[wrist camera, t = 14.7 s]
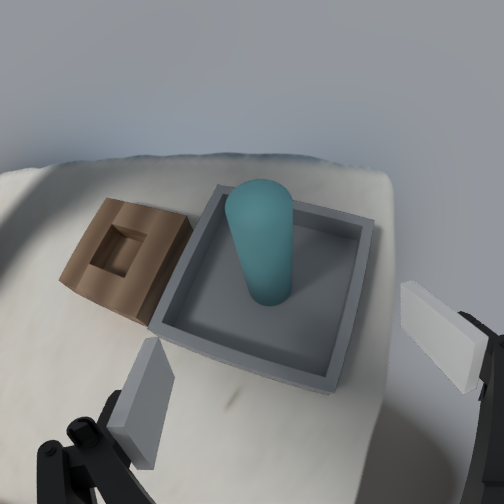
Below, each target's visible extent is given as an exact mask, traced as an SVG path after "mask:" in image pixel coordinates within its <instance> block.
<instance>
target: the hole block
mask: <svg viewBox="0 0 504 504" xmlns="http://www.w3.org/2000/svg"><path fill="white" fill-rule="evenodd" d="M192 233H193V229H192V227H191V225H190V222H189V220H188V218H187V216H185V215H181V214H177V213H172V212H168V211H164V210H159V209H155V208H151V207H146V206H142V205H138V204H133V203H129V202H124V201H120V200H115V199H111V198H106V199H105V201H104V203H103V204H102V206H101V207H100V209H99V210H98V212H97V213H96V215H95V217H94V218H93V220H92V222H91V223H90V225H89V226H88V228H87V230H86V231H85V233H84V235H83V236H82V238H81V240H80V242H79V243H78V245H77V247H76V249H75V250H74V252H73V254H72V256H71V258H70V259H69V261H68V263H67V265H66V267H65V269H64V271H63V272H62V274H61V276H60V278H59V281H60V282H61V283H63V284H64V285H65V286H67V287H68V288H70V289H71V290H72V291H74V292H75V293H77V294H79V295H81V296H83V297H85V298H87V299H89V300H91V301H93V302H95V303H97V304H99V305H101V306H103V307H105V308H107V309H109V310H111V311H113V312H115V313H117V314H120V315H122V316H124V317H126V318H128V319H130V320H133V321H135V322H137V323H139V324H142V325H144V326H146V327H148V326H149V324H150V321H151V319H152V317H153V315H154V312H155V310H156V308H157V306H158V304H159V302H160V299H161V297H162V295H163V293H164V291H165V289H166V286H167V284H168V282H169V280H170V278H171V276H172V274H173V272H174V270H175V268H176V266H177V263H178V261H179V259H180V257H181V255H182V253H183V251H184V249H185V247H186V245H187V243H188V241H189V239H190V237H191V235H192Z"/></svg>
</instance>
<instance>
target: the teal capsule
mask: <svg viewBox="0 0 504 504" xmlns="http://www.w3.org/2000/svg"><path fill="white" fill-rule="evenodd" d="M225 213H226V217H227V220H228V223H229V227H230V230H231V233H232V237H233V240H234V244H235V247H236V250H237V254H238V257H239V260H240V263H241V267H242V270H243V273H244V277H245V280H246V283H247V287H248V290H249V293H250V295H251V297H252V298H253V300H255V301H256V302H257V303H259V304H261V305H264V306H275V305H279V304H281V303H282V302H284V301H285V300H286V299H287V298H288V297H289V295H290V293H291V290H292V258H293V201H292V197H291V195H290V193H289V192H288V190H287V189H286V188H285V187H283V186H282V185H281V184H279V183H277V182H274V181H271V180H265V179H258V180H251V181H248V182H245V183H243V184H241V185H239V186H237V187H236V188H235V189H234V190H233V191H232V192H231V193H230V194H229V196H228V198H227V200H226V203H225Z"/></svg>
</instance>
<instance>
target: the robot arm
mask: <svg viewBox="0 0 504 504" xmlns="http://www.w3.org/2000/svg"><path fill="white" fill-rule="evenodd" d="M401 328H402V329H403V330H404V331H405V332H406V333H407V334H408V335H409V336H410V337H411V338H412V339H413V340H414V341H415V342H416V343H417V344H418V346H420V348H421V349H422V350H423V351H424V352H425V353H426V354H427V355H428V356H429V357H430V358H431V359H432V361H433V362H434V363H435V364H436V365H437V366H438V367H439V368H440V369H441V371H442V372H443V373H444V374H445V375H446V376H447V377H448V378H449V379H450V380H451V382H452V383H453V384H454V385H455V386H456V387H457V388H458V389H459V390H460V392H461V393H462V394H463V395H464V394H466V393H468V392H470V391H472V390H474V389H476V387H477V384H478V380H479V378H480V379H481V380H482V381H483V382H484V384H483V387H482V390H481V393H480V397H479V401H480V400H481V405H480V413H479V420H478V427H477V433H476V439H475V445H474V450H473V455H472V460H471V464H470V468H469V473H468V477H467V481H466V484H465V488H464V492H463V495H462V499H461V502H460V504H504V335H500V336H498V335H497V334H496V333H494V332H493V331H492V330H490V329H489V328H488V327H486V326H485V325H484V324H481V322H480V321H478V320H476V318H474V317H473V316H472V315H470V314H468V313H465V312H462V311H460V312H458V313H457V312H456V311H454V310H453V309H451V308H450V307H449V306H448V305H446V304H445V303H444V302H442V301H441V300H439V299H438V298H437V297H435V296H434V295H432V294H431V293H429V292H428V291H427V290H425V289H424V288H423V287H421V286H420V285H418V284H417V283H416V282H414V281H413V280H410V281H408V282H404V283H401ZM174 379H175V377H174V374H173V372H172V370H171V367H170V365H169V362H168V360H167V357H166V355H165V352H164V350H163V347H162V345H161V342H160V339H159V337H154V338H147V339H145V341H144V343H143V345H142V347H141V349H140V351H139V354H138V356H137V358H136V360H135V362H134V364H133V367H132V369H131V371H130V373H129V375H128V378H127V380H126V382H125V384H124V387H123V389H122V390H115V391H114V392H113V393H112V394H111V395H110V396H109V397H108V399H107V402H106V404H105V406H104V408H103V410H102V412H101V414H100V417H99V419H98V421H97V423H95V421H94V420H93V419H92V418H90V417H80V418H77V419H75V420H74V421H72V422H71V423H70V424H69V426H68V428H67V430H66V431H67V435H68V437H69V438H70V439H71V441H72V442H73V443H74V445H73V446H68V447H63V446H62V444H61V443H60V442H59V441H56V440H49V441H47V442H45V443H43V444H42V445H41V446H40V447H39V449H38V452H37V504H98V503H97V499H96V494H95V489H94V487H97V489H98V490H99V492H100V494H101V496H102V498H103V499H104V501H105V503H106V504H156V503H155V502H154V500H153V499H152V498H151V497H150V495H149V494H148V493H147V492H146V490H145V489H144V488H143V487H142V485H141V484H140V483H139V481H138V480H137V479H136V477H135V476H134V474H133V473H132V472H131V471H130V469H129V468H130V464H131V462H132V464H133V465H134V466H135V467H136V469H137V470H154V465H155V461H156V456H157V451H158V447H159V442H160V438H161V433H162V429H163V425H164V420H165V416H166V412H167V408H168V403H169V399H170V395H171V391H172V387H173V383H174Z"/></svg>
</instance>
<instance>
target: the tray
mask: <svg viewBox="0 0 504 504" xmlns="http://www.w3.org/2000/svg"><path fill="white" fill-rule="evenodd" d="M234 189H235V188H234V187H229V186H223V185H217V187H216V189H215V191H214V193H213V195H212V196H211V198H210V200H209V202H208V204H207V206H206V208H205V210H204V212H203V214H202V216H201V218H200V219H199V221H198V223H197V225H196V227H195V229H194V231H193V233H192V235H191V237H190V239H189V241H188V243H187V245H186V247H185V249H184V251H183V253H182V255H181V257H180V259H179V261H178V263H177V266H176V268H175V270H174V272H173V274H172V276H171V278H170V280H169V282H168V284H167V286H166V289H165V291H164V293H163V295H162V297H161V299H160V302H159V304H158V306H157V308H156V310H155V312H154V315H153V317H152V319H151V321H150V324H149V326H148V328H147V329H148V330H150V331H151V332H153V333H154V334H156V335H157V336H159V337H160V338H162V339H164V340H166V341H169V342H171V343H173V344H176V345H178V346H181V347H183V348H186V349H188V350H191V351H193V352H196V353H198V354H201V355H204V356H206V357H209V358H212V359H214V360H217V361H220V362H222V363H225V364H228V365H231V366H234V367H237V368H239V369H242V370H245V371H248V372H251V373H254V374H257V375H260V376H263V377H267V378H270V379H273V380H276V381H279V382H283V383H286V384H289V385H293V386H296V387H300V388H303V389H307V390H311V391H314V392H318V393H322V394H325V395H330V394H333V393H335V390H336V386H337V383H338V380H339V376H340V373H341V370H342V366H343V363H344V359H345V355H346V352H347V348H348V344H349V341H350V337H351V333H352V329H353V325H354V321H355V317H356V312H357V308H358V304H359V299H360V295H361V290H362V285H363V281H364V276H365V271H366V266H367V260H368V255H369V249H370V244H371V238H372V232H373V225H374V220H372V219H368V218H364V217H360V216H356V215H353V214H349V213H345V212H341V211H337V210H333V209H329V208H324V207H320V206H316V205H312V204H308V203H303V202H299V201H295V200H292V201H293V258H292V290H291V293H290V295H289V297H288V298H287V299H286V300H285V301H284V302H282V303H281V304H279V305H275V306H264V305H261V304H259V303H257V302H256V301H255V300H253V298H252V297H251V295H250V293H249V290H248V287H247V283H246V280H245V277H244V273H243V270H242V267H241V263H240V260H239V257H238V254H237V250H236V247H235V244H234V240H233V237H232V233H231V230H230V227H229V223H228V220H227V217H226V213H225V203H226V200H227V198H228V196H229V194H230V193H231V192H232V191H233V190H234Z"/></svg>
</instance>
